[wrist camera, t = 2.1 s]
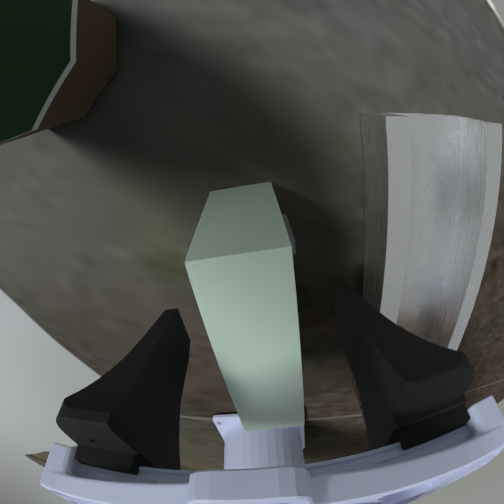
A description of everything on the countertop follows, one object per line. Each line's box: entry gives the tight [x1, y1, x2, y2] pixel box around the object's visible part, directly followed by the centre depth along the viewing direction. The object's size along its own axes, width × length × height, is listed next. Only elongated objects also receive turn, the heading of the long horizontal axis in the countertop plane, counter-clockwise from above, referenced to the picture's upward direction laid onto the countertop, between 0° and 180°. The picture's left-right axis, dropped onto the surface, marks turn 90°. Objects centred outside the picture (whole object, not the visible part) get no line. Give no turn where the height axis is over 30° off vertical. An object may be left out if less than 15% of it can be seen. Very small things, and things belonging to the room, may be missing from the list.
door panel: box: [185, 182, 305, 431], centre depth 14 cm, size 10×3×7 cm, turn 9°
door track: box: [352, 113, 502, 425], centre depth 14 cm, size 20×7×6 cm, turn 9°
